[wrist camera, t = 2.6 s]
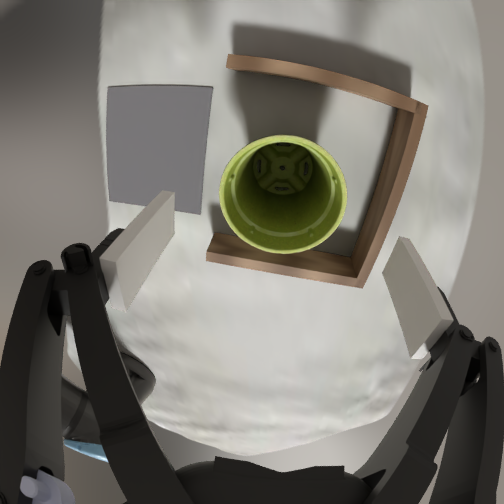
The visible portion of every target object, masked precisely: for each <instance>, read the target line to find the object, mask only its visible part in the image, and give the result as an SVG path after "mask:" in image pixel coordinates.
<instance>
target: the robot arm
mask: <svg viewBox="0 0 504 504" xmlns="http://www.w3.org/2000/svg"><path fill="white" fill-rule="evenodd" d="M174 206H175V192H170V191H163V190H162V191H161V192H160V193H159V194H158V195H157V196H156V197H155V198H154V199H153V200H152V201H151V202H150V203H149V204H148V205H147V206H146V207H145V208H144V209H143V210H142V211H141V212H140V214H139V215H138V216H137V217H136V218H135V219H134V220H133V221H132V222H131V223H130V224H129V225H128V226H127V227H126V228H125V229H121V228H118V229H116V230H114V231H112V232H111V233H109V235H108V236H107V237H106V238H105V240H103V241H102V242H101V243H100V245H98V246H97V247H96V249H95V250H94V251H93V252H92V253H91V249H90V247H89V246H88V245H86V244H84V243H76V244H72V245H70V246H68V247H67V248H65V249H64V250H63V251H62V254H61V259H62V262H63V266H64V269H65V270H53V267H52V264H51V263H50V262H49V261H47V260H41V261H37V262H35V263H33V264H32V265H31V266H30V267H29V268H28V270H27V272H26V275H25V278H24V280H23V283H22V286H21V289H20V292H19V295H18V298H17V301H16V304H15V308H14V311H13V315H12V318H11V322H10V325H9V329H8V333H7V337H6V341H5V346H4V350H3V355H2V360H1V366H0V504H75V498H74V495H73V492H72V491H71V489H70V488H69V487H68V485H66V483H65V482H64V467H65V466H64V452H63V441H62V436H63V437H64V438H65V439H64V445H65V446H67V447H69V448H72V449H74V450H76V451H78V452H81V453H83V454H86V455H88V456H91V457H94V458H97V459H99V460H102V461H106V462H109V464H110V467H111V469H112V471H113V473H114V475H115V477H116V480H117V481H118V484H119V486H120V488H121V490H122V491H123V493H124V495H125V497H126V499H127V502H125V503H123V504H418V503H419V502H420V500H421V498H422V497H423V495H424V493H425V492H426V490H427V488H428V486H429V485H430V483H431V481H432V479H433V477H434V475H435V473H436V471H437V464H436V463H434V458H435V456H436V454H437V452H438V450H439V447H440V445H441V443H442V441H443V439H444V436H445V434H446V432H447V429H448V434H447V439H446V444H445V448H444V453H443V457H442V461H441V465H440V469H439V472H438V476H437V479H436V483H435V486H434V489H433V492H432V495H431V499H430V502H429V504H496V490H497V486H498V480H499V474H500V468H501V460H502V452H503V442H504V375H503V363H502V354H501V349H500V346H499V344H498V342H497V341H496V340H495V339H493V338H492V337H486V338H485V340H484V341H483V342H482V343H481V342H479V341H476V340H475V339H474V336H473V334H472V332H471V331H470V330H469V329H468V328H467V327H465V326H463V325H459V323H458V321H457V319H456V317H455V314H454V313H453V310H452V308H451V307H450V304H449V302H448V300H447V298H446V296H445V294H444V293H443V292H442V291H441V289H440V288H439V287H437V286H436V284H435V282H434V280H433V278H432V276H431V275H430V273H429V271H428V269H427V268H426V266H425V264H424V262H423V261H422V259H421V257H420V255H419V254H418V252H417V250H416V249H415V247H414V246H413V244H412V242H411V241H410V239H408V238H404V237H400V236H399V238H398V240H397V242H396V245H395V247H394V249H393V251H392V253H391V256H390V258H389V260H388V262H387V264H386V266H385V268H384V270H383V272H382V274H383V276H384V279H385V282H386V284H387V287H388V290H389V292H390V295H391V298H392V301H393V304H394V307H395V309H396V312H397V315H398V318H399V322H400V325H401V328H402V331H403V334H404V337H405V341H406V344H407V348H408V351H409V355H410V358H411V359H423V358H424V356H425V355H426V354H427V353H428V352H429V351H430V354H431V358H430V359H429V360H428V361H427V362H426V363H425V364H424V365H423V366H422V368H421V369H420V370H419V371H422V370H423V371H422V374H421V375H420V377H419V379H418V381H417V383H416V385H415V387H414V389H413V391H412V393H411V394H410V396H409V398H408V400H407V401H406V403H405V405H404V407H403V408H402V410H401V412H400V413H399V415H398V417H397V418H396V420H395V421H394V423H393V425H392V426H391V428H390V429H389V431H388V432H387V434H386V435H385V437H384V438H383V440H382V441H381V443H380V444H379V446H378V447H377V448H376V450H375V451H374V453H373V454H372V455H371V457H370V458H369V460H368V461H367V462H366V463H365V464H364V465H363V466H362V467H361V468H360V469H359V470H358V471H356V472H355V473H354V474H353V475H352V474H350V473H347V472H344V466H314V467H310V468H305V469H301V470H295V471H289V472H277V471H275V470H271V469H268V468H265V467H262V466H260V465H256V464H254V463H251V462H248V461H241V460H234V459H228V458H222V457H217V456H215V461H206V462H198V463H194V464H190V465H187V466H185V467H182V468H180V469H179V470H176V471H175V470H174V468H173V466H172V465H171V463H170V461H169V459H168V458H167V457H166V454H165V452H164V451H163V449H162V447H161V445H160V443H159V441H158V440H157V438H156V436H155V434H154V432H153V430H152V428H151V426H150V424H149V422H148V420H147V417H146V415H145V413H144V411H143V409H142V407H141V404H142V403H143V402H144V401H145V400H146V398H147V397H148V396H149V395H150V394H151V393H152V391H153V389H154V386H155V383H156V380H155V377H154V375H153V374H152V373H151V372H150V371H149V370H148V369H147V368H146V367H145V366H144V365H143V364H141V363H140V362H138V361H137V360H135V359H133V358H132V357H130V356H128V355H125V354H123V353H121V352H119V349H118V346H117V343H116V340H115V337H114V334H113V331H112V328H111V324H110V321H109V318H108V314H107V311H106V307H105V304H106V303H107V301H108V300H109V301H110V304H111V308H113V309H117V310H120V311H123V312H127V310H128V308H129V306H130V305H131V303H132V301H133V300H134V298H135V296H136V295H137V293H138V291H139V289H140V288H141V286H142V284H143V283H144V281H145V280H146V278H147V276H148V275H149V273H150V271H151V270H152V268H153V267H154V265H155V263H156V262H157V260H158V259H159V257H160V255H161V254H162V252H163V251H164V249H165V248H166V246H167V245H168V243H169V241H170V240H171V238H172V237H173V235H174ZM67 315H70V316H71V321H72V327H73V333H74V338H75V343H76V348H77V353H78V357H79V362H80V366H81V370H82V374H83V377H84V381H85V385H86V389H87V390H86V391H84V390H83V389H81V388H80V387H79V386H77V385H76V384H74V383H73V382H72V381H70V380H69V379H68V378H67V377H65V376H64V375H63V374H62V359H63V346H64V336H65V328H66V321H67ZM479 376H480V377H479ZM478 377H479V380H478V382H477V383H476V381H477V380H476V379H477V378H478ZM448 427H449V428H448Z"/></svg>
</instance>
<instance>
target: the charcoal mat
mask: <svg viewBox="0 0 504 504" xmlns="http://www.w3.org/2000/svg"><path fill="white" fill-rule="evenodd" d="M212 91H213V88H210V87H195V86H123V87H108V92H107V117H106V147H107V174H108V189H109V201H113V202H120V203H127V204H134V205H141V206H147V205H148V204H149V203H150V202H151V201H152V200H153V199H154V198H155V197H156V196H157V195H158V194H159V193H160V192H161V191H162V190H163V191H170V192H175V206H174V211H180V212H186V213H192V214H198V215H201V202H202V188H203V176H204V164H205V153H206V143H207V134H208V124H209V116H210V107H211V99H212Z"/></svg>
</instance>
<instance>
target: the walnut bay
mask: <svg viewBox="0 0 504 504" xmlns="http://www.w3.org/2000/svg"><path fill="white" fill-rule="evenodd" d="M226 67H227V68H229V69H232V70H238V71H247V72H255V73H262V74H269V75H275V76H281V77H287V78H292V79H297V80H302V81H307V82H311V83H316V84H320V85H324V86H328V87H332V88H336V89H340V90H343V91H347V92H350V93H354V94H357V95H360V96H363V97H367V98H370V99H373V100H376V101H379V102H381V103H384V104H387V105H390V106H393V107H395V108H398V110H397V115H396V119H395V123H394V127H393V131H392V134H391V138H390V142H389V145H388V149H387V152H386V156H385V159H384V163H383V166H382V169H381V173H380V176H379V179H378V182H377V185H376V189H375V192H374V195H373V198H372V201H371V204H370V206H369V209H368V212H367V215H366V218H365V221H364V223H363V226H362V229H361V232H360V234H359V237H358V240H357V242H356V245H355V247H354V250H353V253H352V255H351V257H346V256H341V255H335V254H330V253H325V252H320V251H314V250H309V249H308V250H305V251H302V252H296V253H289V254H282V253H271V252H267V251H263V250H261V249H258V248H256V247H254V246H252V245H250V244H248V243H247V242H245V241H243V240H242V239H241V238H240V237H238V236H232V235H227V234H221V233H214V236H213V238H212V240H211V242H210V245H209V247H208V249H207V253H206V261H209V262H215V263H220V264H225V265H231V266H236V267H242V268H247V269H253V270H258V271H264V272H269V273H275V274H281V275H286V276H292V277H298V278H304V279H309V280H315V281H321V282H327V283H333V284H339V285H345V286H351V287H357V288H363V287H364V285H365V283H366V280H367V278H368V276H369V274H370V272H371V270H372V268H373V265H374V263H375V261H376V259H377V257H378V254H379V252H380V250H381V247H382V245H383V243H384V240H385V238H386V236H387V233H388V231H389V228H390V226H391V223H392V221H393V218H394V216H395V213H396V210H397V208H398V205H399V202H400V200H401V197H402V194H403V191H404V188H405V185H406V182H407V180H408V177H409V174H410V170H411V167H412V164H413V161H414V158H415V154H416V151H417V148H418V144H419V141H420V137H421V133H422V130H423V126H424V122H425V118H426V114H427V110H428V105H426V104H423V103H421V102H419V101H417V100H414V99H412V98H410V97H407V96H405V95H402V94H400V93H397V92H395V91H392V90H389V89H387V88H384V87H381V86H378V85H375V84H372V83H369V82H366V81H363V80H360V79H357V78H354V77H350V76H347V75H343V74H340V73H336V72H332V71H328V70H324V69H320V68H316V67H311V66H307V65H302V64H297V63H292V62H286V61H281V60H274V59H268V58H261V57H253V56H244V55H233V54H228V58H227V64H226Z"/></svg>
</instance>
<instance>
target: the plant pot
mask: <svg viewBox="0 0 504 504" xmlns="http://www.w3.org/2000/svg"><path fill="white" fill-rule="evenodd" d="M277 143H289V144H290V146H276V144H277ZM258 160H261V166H260V167H261V170H260V171H261V172H260V173H259V171H258V169H257V162H258ZM305 162H307V163H308V172H307V174H306V175H304V169H305V165H304V164H305ZM280 166H285V170H281V169H280ZM275 187H285V188H286V187H288V190H281V191H279V190H276V189H275ZM219 199H220V206H221V209H222V213H223V215H224V217H225V219H226V221H227V223H228V224H229V226H230V227H231V229H232V230H233V231H234V232H235V233H236V234H237V235H238V236H239V237H240V238H241V239H242V240H243V241H245V242H247V243H248V244H250V245H252V246H254V247H256V248H258V249H261V250H263V251H267V252H271V253H282V254H289V253H296V252H302V251H305V250H308V249H311V248H313V247H314V246H317V245H318V244H320V243H322V242H323V241H325V240H326V239H327V238H328V237H329V236H330V235H331V234H332V233H333V232H334V231H335V230H336V228H337V227H338V225H339V224H340V222H341V220H342V218H343V215H344V213H345V209H346V204H347V187H346V183H345V179H344V176H343V173H342V171H341V169H340V167H339V165H338V164H337V162H336V161H335V160H334V158H333V157H332V156H331V155H330V154H329V153H328V152H327V151H326V150H325V149H324V148H322V147H321V146H319V145H318V144H316V143H315V142H312V141H310V140H308V139H305V138H302V137H299V136H293V135H273V136H268V137H264V138H261V139H258V140H256V141H254V142H252V143H250V144H248V145H246V146H245V147H244V148H242V149H241V150H240V151H239V152H238V153H237V154H236V155H235V156H234V157H233V158H232V159H231V160H230V162H229V163H228V164H227V166H226V168H225V170H224V172H223V175H222V178H221V182H220V188H219Z"/></svg>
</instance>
